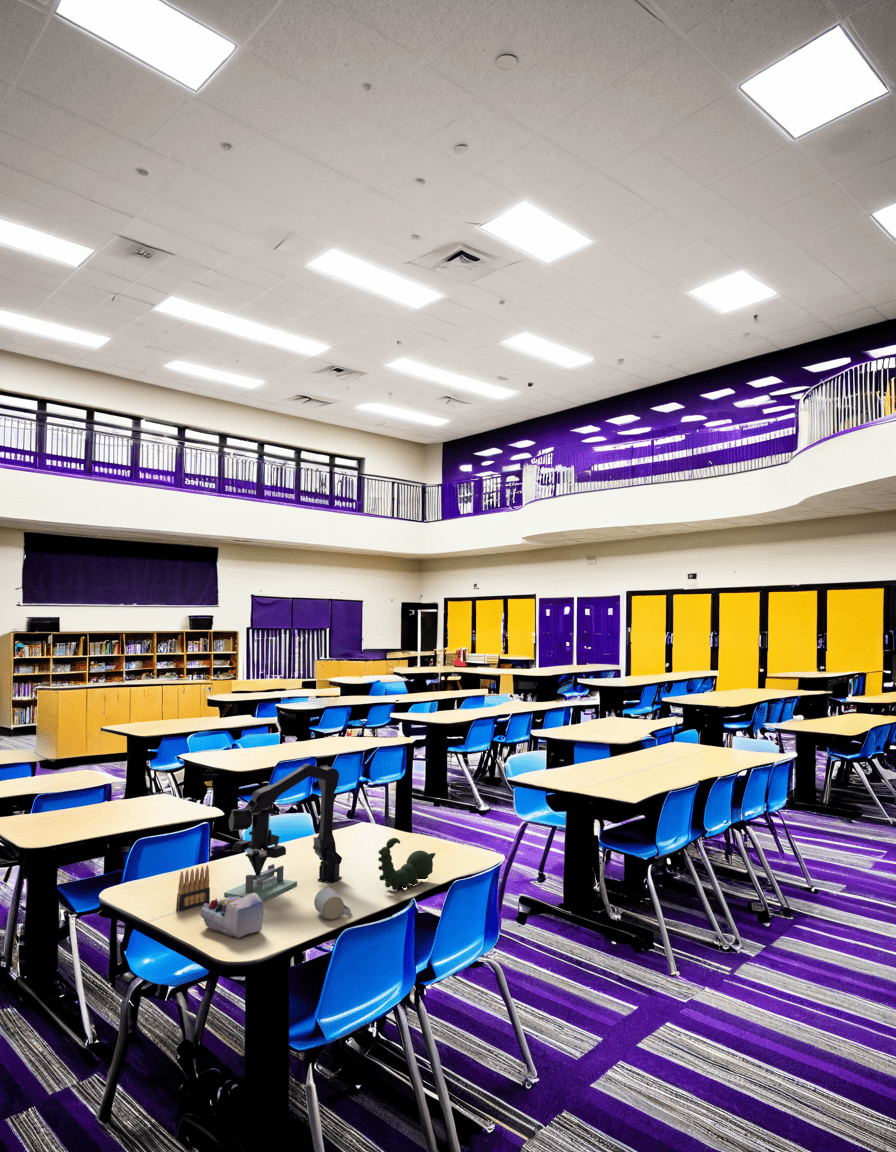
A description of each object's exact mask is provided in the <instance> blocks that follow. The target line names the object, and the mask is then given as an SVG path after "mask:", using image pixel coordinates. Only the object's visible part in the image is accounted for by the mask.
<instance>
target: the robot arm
mask: <svg viewBox="0 0 896 1152" xmlns="http://www.w3.org/2000/svg"><path fill="white" fill-rule="evenodd" d="M309 777H312V778H316V779H318V780H317V781H318V785H319V788H320V792H321V793H320V794H321V797H320V798H321V799H320V814H319V816H320V819H319V821H320V822H319V833H318V835H317V836H314V837H313V846H312V849H313V850H314V853H315V855H317V857H319V860H320V865H319V868H318V870H319V871H318V875H319V876H318V877H319V878H317V881H318V882H323V881H324V882H325V883H329V882H331V883H330V884H333V883H335V882H337V881H339V880H341V879H342V878H343V877H342V876H340V868H341V867H340V864H341V863H342V861H343V857H342V856H341V855H340V854H339V853H338V852H337V847H336V841H335V837H334V833H333V826H334V808H335V807H334V804H335V791H336V790H337V787H338V784H339V780H340V773H339V771H338V770H337V769H336V768H334V767H331V766H326V765H325V766H323V767H320V766H316V765H313V764H310V763H304V764H303V765H302V766H300V767H298V768H297V769H295V770H294V771H291V773H289V774H287V775H286V776H284V777H283V778H281V779H279V780H278V781H276V782H275V783H272V784H269V785H265V786H263V787H260V788H259V789H256V790H254V792H252V796H251V799H250V800H249V802H248V803H247V804H246V806H245V807H244V808H241V809H236V808H235V809H231V813H230V815H229V818H228V828H229V830H230V832H233V831H245V830H249V828H251V830H250V831H249V832H248V836H249V835H250V836H251V837H250V838H251V839H250V840H246V839H243V840H239V841H236V842H234V844H233V845H232V852H233V853H234V852H235V853H240V852H242V851H243V850H246V854H245V857H247V858H248V860H249V863H250V864H251V866H252V868H253V871H254V875H255V874H256V875H260V873H261V872H263V871H262V870H263V868H264V865H265V863H266V861H267V859H268V858H270V859H277V858H280V857H282V856H286V855H287V848H286V847H285V846H284V845H280V844H279V841H280V838H281V837H280V835H275V834H273V833H272V832H273V831H272V829H270V815H274V814H275V815H276V813H277V812H276V811H275V810H274V809H273V807H272V806H271V805H273V804H274V803H275V802H276V801H277V800H278V799H279V797H280V796H282V794H284V793H285V792H287V791H288V790H290V789H292V788H293V787H295V786H296V785H298V784H300V783H301V782H303V781H304V780H306V779H307V778H309ZM340 878H341V879H340ZM338 879H339V880H338ZM336 880H337V881H336ZM334 881H335V882H334Z"/></svg>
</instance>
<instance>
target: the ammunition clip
mask: <svg viewBox="0 0 896 1152" xmlns="http://www.w3.org/2000/svg"><path fill="white" fill-rule="evenodd" d="M200 868H201V869H199V867H196V870H195V872H194V868H191V871H190V873H189V870H188V869H186V871H185V875H184V871H181V872H180V876H179V882H178V889H177V890H178V891H177V892H178V893H177V897H176V905H175V906H176V907H175V911H177V912H184V911H187V910H191V909H194V908H198V907H203V906H204V903H206V904H210V903H211V893H210V892H211V891H210V890H211V888H210V870H209V865H208V864H207V865H206V867H205V870H204V866H201V867H200ZM189 875H190V876H189Z"/></svg>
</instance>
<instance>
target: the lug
mask: <svg viewBox="0 0 896 1152" xmlns="http://www.w3.org/2000/svg"><path fill="white" fill-rule="evenodd" d="M255 877H256V875H255V874H246V875H245V883H246V887H245V892H246V893H253V878H255Z"/></svg>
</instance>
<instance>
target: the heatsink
mask: <svg viewBox="0 0 896 1152" xmlns="http://www.w3.org/2000/svg"><path fill="white" fill-rule="evenodd" d="M276 885H277V875H274V876H272V875H267V876H265V877H262V878H259V879H257V880H254V879H253V890H255V891H260V892H263V891H265V890H267V889H269V888H272V887H274V886H276Z"/></svg>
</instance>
